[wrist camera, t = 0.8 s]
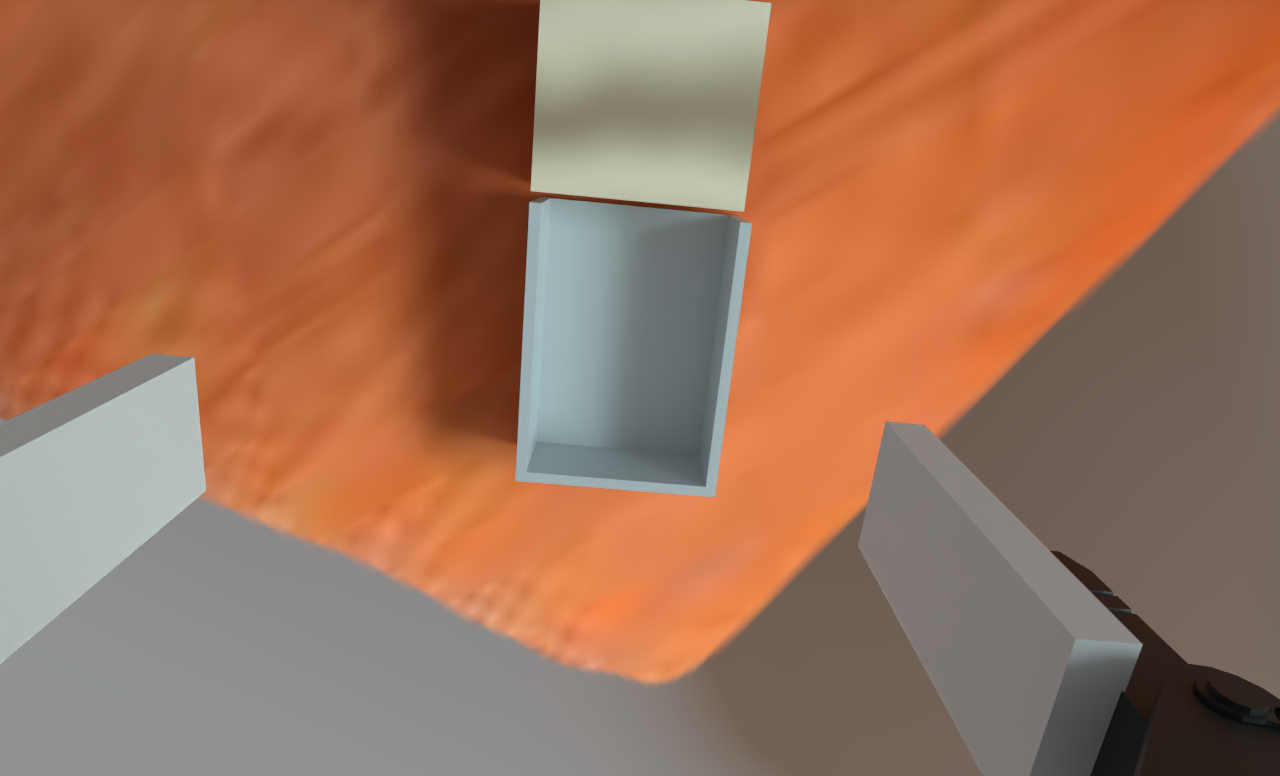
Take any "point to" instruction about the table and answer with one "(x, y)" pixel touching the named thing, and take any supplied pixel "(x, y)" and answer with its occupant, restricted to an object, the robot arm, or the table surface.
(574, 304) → the cradle tray
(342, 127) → the table surface
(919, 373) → the table surface
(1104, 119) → the table surface
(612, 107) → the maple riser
